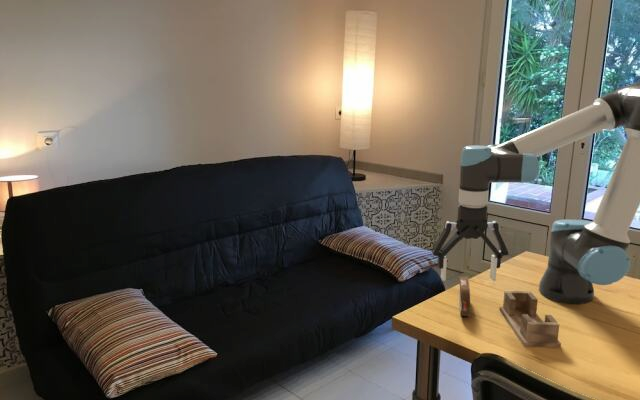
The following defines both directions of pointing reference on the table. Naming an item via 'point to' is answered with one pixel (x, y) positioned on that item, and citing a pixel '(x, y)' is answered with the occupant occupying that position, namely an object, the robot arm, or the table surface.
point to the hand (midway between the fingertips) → (467, 279)
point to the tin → (464, 296)
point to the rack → (529, 320)
